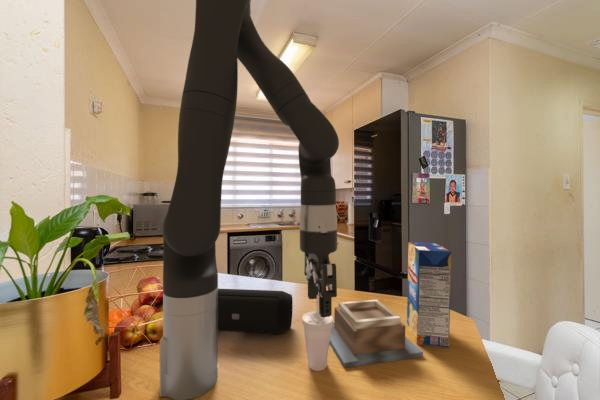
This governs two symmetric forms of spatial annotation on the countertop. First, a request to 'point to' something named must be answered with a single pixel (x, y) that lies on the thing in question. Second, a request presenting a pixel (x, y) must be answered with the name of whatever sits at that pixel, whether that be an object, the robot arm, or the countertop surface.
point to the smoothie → (317, 338)
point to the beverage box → (429, 293)
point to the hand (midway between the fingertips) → (318, 306)
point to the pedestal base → (369, 334)
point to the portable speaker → (254, 310)
